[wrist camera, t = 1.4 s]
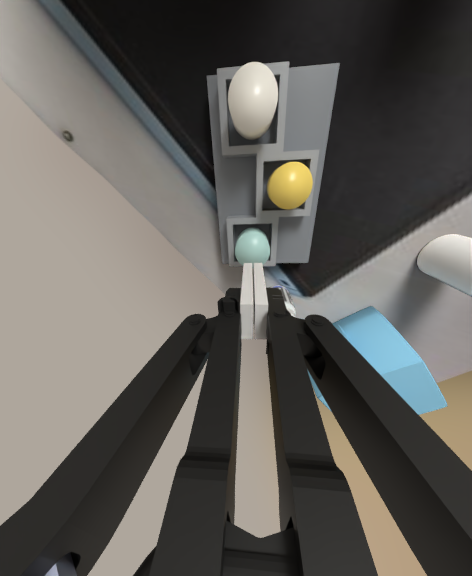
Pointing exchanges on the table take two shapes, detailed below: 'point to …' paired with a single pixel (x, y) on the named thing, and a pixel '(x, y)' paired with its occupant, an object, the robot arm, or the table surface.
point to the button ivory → (252, 99)
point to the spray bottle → (449, 261)
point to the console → (271, 159)
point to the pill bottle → (287, 299)
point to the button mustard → (290, 185)
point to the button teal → (252, 247)
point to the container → (390, 359)
